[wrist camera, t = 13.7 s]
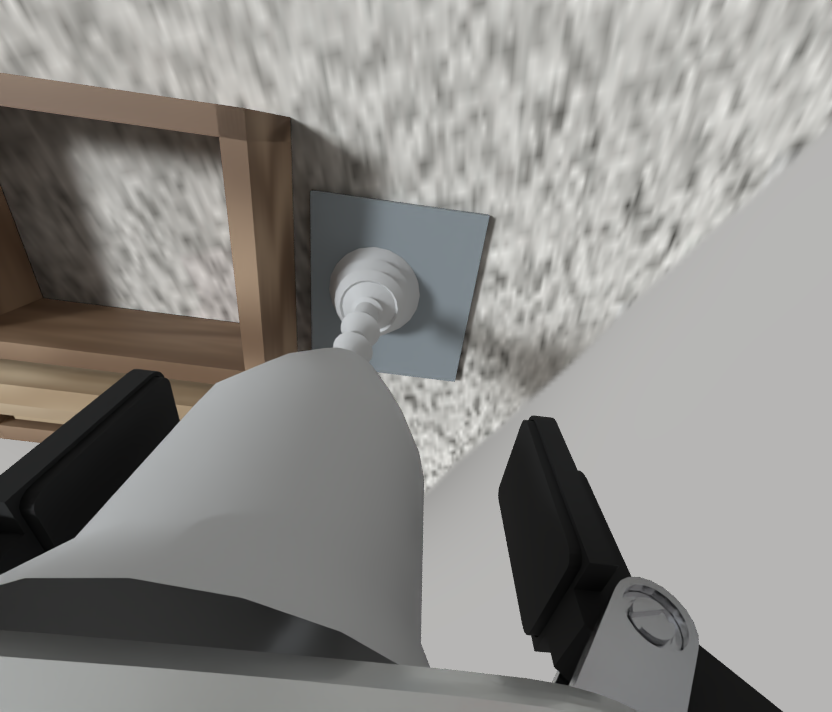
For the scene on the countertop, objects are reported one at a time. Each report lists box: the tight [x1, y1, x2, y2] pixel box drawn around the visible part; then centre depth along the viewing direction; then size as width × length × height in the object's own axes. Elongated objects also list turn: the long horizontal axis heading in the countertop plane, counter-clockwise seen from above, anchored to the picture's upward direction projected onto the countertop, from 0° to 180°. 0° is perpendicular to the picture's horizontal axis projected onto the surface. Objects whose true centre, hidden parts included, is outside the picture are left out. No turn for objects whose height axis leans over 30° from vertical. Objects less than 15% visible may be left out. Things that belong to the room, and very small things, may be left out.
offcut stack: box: [0, 358, 215, 424], centre depth 22 cm, size 4×12×6 cm, turn 83°
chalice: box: [0, 247, 430, 668], centre depth 13 cm, size 7×7×18 cm
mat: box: [310, 190, 490, 382], centre depth 21 cm, size 10×9×1 cm
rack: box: [0, 73, 298, 443], centre depth 19 cm, size 18×16×5 cm
